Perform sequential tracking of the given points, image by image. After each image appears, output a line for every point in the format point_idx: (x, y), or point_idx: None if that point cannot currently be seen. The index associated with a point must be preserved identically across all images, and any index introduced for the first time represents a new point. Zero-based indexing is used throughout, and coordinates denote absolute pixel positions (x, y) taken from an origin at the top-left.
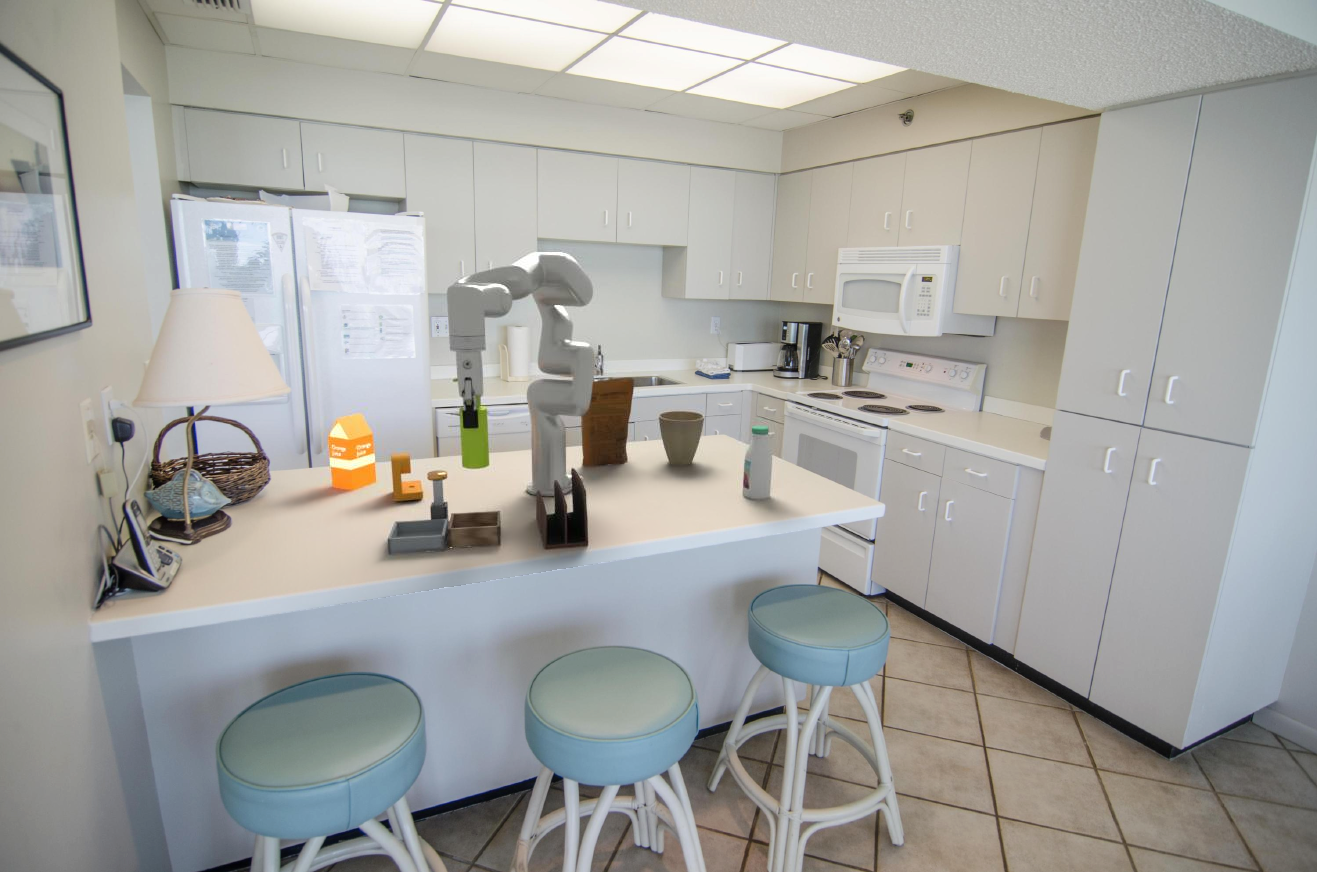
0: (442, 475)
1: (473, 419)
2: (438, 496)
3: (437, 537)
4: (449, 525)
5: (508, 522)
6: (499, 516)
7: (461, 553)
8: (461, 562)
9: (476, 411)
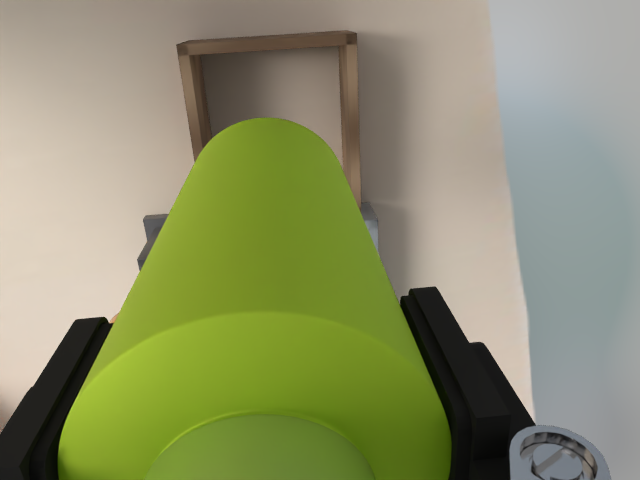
0: None
1: (500, 377)
2: None
3: (376, 237)
4: None
5: (121, 12)
6: (244, 43)
7: (395, 152)
8: (461, 144)
9: (502, 415)
